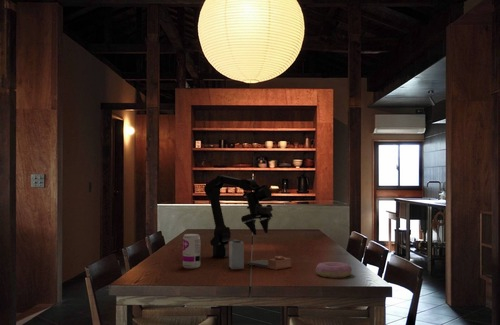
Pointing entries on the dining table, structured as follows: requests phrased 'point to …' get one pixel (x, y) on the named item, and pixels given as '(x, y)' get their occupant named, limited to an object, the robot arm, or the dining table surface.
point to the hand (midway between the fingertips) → (261, 233)
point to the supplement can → (191, 251)
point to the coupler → (273, 263)
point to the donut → (333, 269)
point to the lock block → (236, 254)
